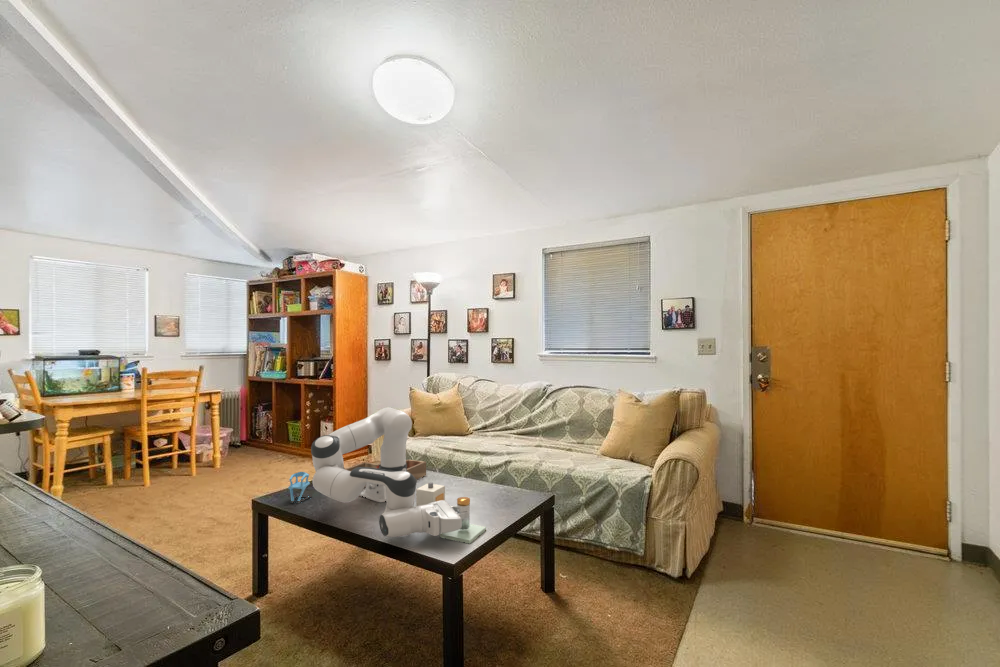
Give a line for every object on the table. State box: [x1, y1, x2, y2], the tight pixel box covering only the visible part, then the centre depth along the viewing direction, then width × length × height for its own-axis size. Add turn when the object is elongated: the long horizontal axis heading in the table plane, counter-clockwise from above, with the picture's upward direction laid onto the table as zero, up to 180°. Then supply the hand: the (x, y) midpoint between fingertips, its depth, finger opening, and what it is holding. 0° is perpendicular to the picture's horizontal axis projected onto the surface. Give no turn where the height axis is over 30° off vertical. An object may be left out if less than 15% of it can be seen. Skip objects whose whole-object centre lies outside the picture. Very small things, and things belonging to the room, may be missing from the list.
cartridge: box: [456, 496, 471, 530], centre depth 163 cm, size 5×5×10 cm
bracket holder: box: [406, 459, 427, 480], centre depth 227 cm, size 11×18×7 cm, turn 154°
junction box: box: [415, 482, 446, 507], centre depth 177 cm, size 8×8×14 cm
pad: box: [439, 523, 487, 544], centre depth 163 cm, size 12×12×1 cm
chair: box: [287, 471, 311, 502], centre depth 198 cm, size 8×8×12 cm
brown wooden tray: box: [344, 462, 381, 487], centre depth 229 cm, size 21×21×4 cm
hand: (465, 511), depth 163 cm, fingers closed on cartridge, 4 cm apart
